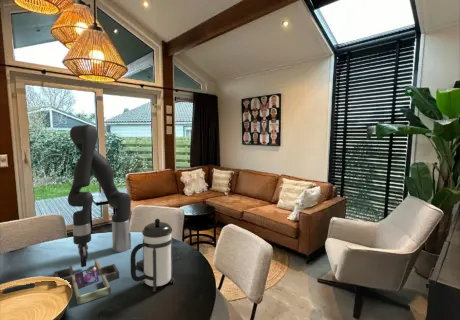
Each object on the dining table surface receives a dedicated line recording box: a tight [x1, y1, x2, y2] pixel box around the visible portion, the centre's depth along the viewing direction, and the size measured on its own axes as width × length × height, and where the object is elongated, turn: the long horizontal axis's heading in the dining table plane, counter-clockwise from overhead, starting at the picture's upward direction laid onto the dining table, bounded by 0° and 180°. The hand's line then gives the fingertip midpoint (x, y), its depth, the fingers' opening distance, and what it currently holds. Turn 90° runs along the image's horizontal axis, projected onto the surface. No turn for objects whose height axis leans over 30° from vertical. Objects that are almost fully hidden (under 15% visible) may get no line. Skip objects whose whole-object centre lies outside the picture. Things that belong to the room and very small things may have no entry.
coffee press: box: [130, 218, 176, 293], centre depth 114 cm, size 17×16×30 cm
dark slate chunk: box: [136, 247, 182, 271], centre depth 136 cm, size 15×22×5 cm
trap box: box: [54, 258, 120, 305], centre depth 117 cm, size 24×30×3 cm
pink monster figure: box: [73, 265, 100, 290], centre depth 116 cm, size 7×5×9 cm
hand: (83, 266), depth 128 cm, fingers closed
